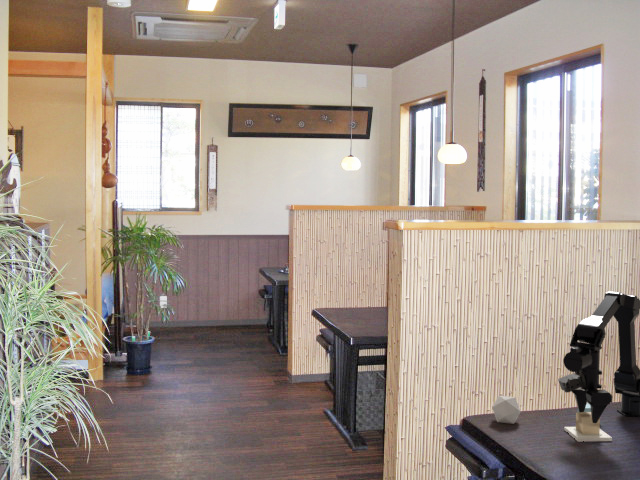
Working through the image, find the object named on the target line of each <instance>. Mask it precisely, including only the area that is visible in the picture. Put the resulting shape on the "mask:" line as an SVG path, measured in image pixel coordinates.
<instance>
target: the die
mask: <svg viewBox="0 0 640 480" xmlns="http://www.w3.org/2000/svg"><path fill="white" fill-rule="evenodd" d="M491 409H492V411H493V414H494V417H495V419H496V422H497V423H502V424H503V423H505V424H515V423H516V421H517V419H518V417H519V416H520V414H521V412H522V411H521V408H520V406H519V403H518V400H517V397H514V396H506V395H498V397H497V398H496V400H495V401H494V403H493V404H492V406H491Z"/></svg>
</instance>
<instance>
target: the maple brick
mask: <svg viewBox="0 0 640 480" xmlns="http://www.w3.org/2000/svg"><path fill="white" fill-rule="evenodd" d="M600 426H601V417H600V418H599V420H598V422H597V423H593V422H592V415H591V412H578V411H577V412H575V427H576V429H577V430H578V431H579V432H580V433H582V434H600V429H601V427H600Z"/></svg>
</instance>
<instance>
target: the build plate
mask: <svg viewBox="0 0 640 480" xmlns="http://www.w3.org/2000/svg"><path fill="white" fill-rule="evenodd" d="M563 429H564V431H565V432H566V433H567V432H568V433H569V436H570V437H572V438H573V439H574V438H575V439H574V440H576V441H577V442H579V443H580V442H582V443H583V441H584V442H612V441H613V437H612V436H611V435H609V434H608V433H607V432H605V431H603V429H601V428H600V434H582V433H580V432H579V431H578V430H577V429H576V426H564V428H563ZM568 433H567V434H568Z"/></svg>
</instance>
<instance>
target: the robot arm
mask: <svg viewBox="0 0 640 480" xmlns="http://www.w3.org/2000/svg"><path fill="white" fill-rule="evenodd" d="M638 316H640V298H639V297H638V296H637V295H632V294H631V295H630V294H625V293H622V292H617V291H606V292H605V294H604V297H603V299H602V301H601V302H600V303H599V305H598V306H597V308H595V311H593V313H592V315H590V316H589V317H586V318H584V319H582V320H581V321H580V322H579V323H578V324H577V325H576V327H575V328H574V331H573V333H572V337H571V339H570V343H569V347H570V348H569V352H567V353H566V354H565V355H564V357H563V361H562V362H563V364H564V367H565V368H566V369H567V370H568V371H569V372H572V373H571V374H567V375H564V376H562V377H559V378H558V383H559V386H560V389H561V390H562V391H564V392H565V393H568V394H569V393H572V394H573V395H574V399H575V401H576V402H575V403H576V407H577V411H578V410H579V412H584V410H585V407H586V404H587V403H589V404H590V406H591V415H592V422H593V423H597V422H598V420H599V418H600V419H601V416H602V415H603V413H604V412H605V410H606V409H607V406H608V405H610V404H612V403H613V398H614V397H613V395H612V394H611V392H610V391H607V390H606V389H602V386H603V385H602V384H601V383H600V376H602V375H603V371H602V370H600V357H601V356H600V351H601V350H602V349H603V347H602V345H603V342H604V340H605V338H606V335H607V334H606V329H605V328H606V327H607V325H608V324H609V322H610V321H611V319H612V318H613V317H614V319H615V321H616V322H617V327H618V329H617V332H618V350H619V353H618V354H619V366H618V368H616V371H614V372H613V377H614V378H613V385H614V386H613V387H614V393H615V394H619V395H620V396H621V400H620V401H621V403H620V405H621V406H620V408H616V411H617V412H619V413H620V414H622V415H623V416H626V417H629V416H630V417H634V416H637V417H639V416H640V367H639V366H638V365H637V355H636V328H635V327H636V326H635V321H636V319H637V318H638Z"/></svg>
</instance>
